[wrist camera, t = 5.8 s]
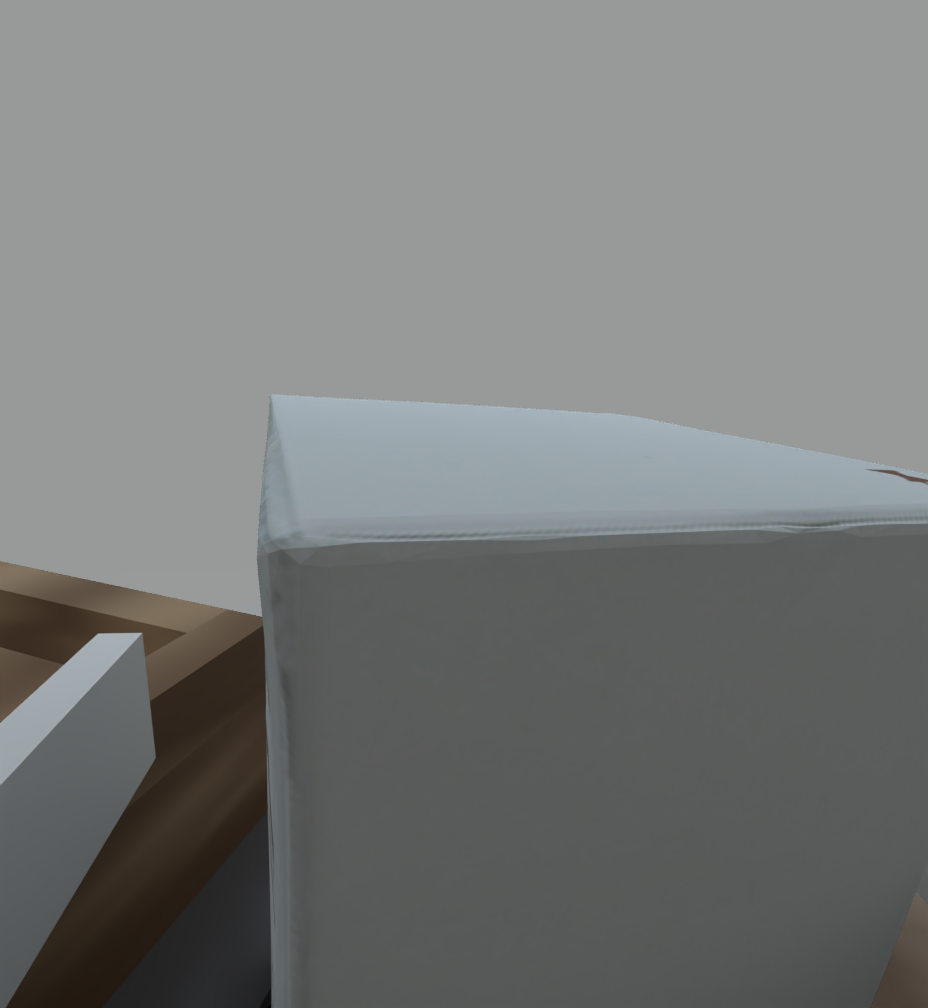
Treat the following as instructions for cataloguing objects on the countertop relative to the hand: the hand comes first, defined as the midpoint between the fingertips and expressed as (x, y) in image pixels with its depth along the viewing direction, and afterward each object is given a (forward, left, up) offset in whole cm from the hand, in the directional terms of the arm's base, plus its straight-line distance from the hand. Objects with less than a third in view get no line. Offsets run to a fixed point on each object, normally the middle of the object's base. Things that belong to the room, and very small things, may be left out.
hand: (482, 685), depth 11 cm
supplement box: (+1, -2, -7) cm, 8 cm away
